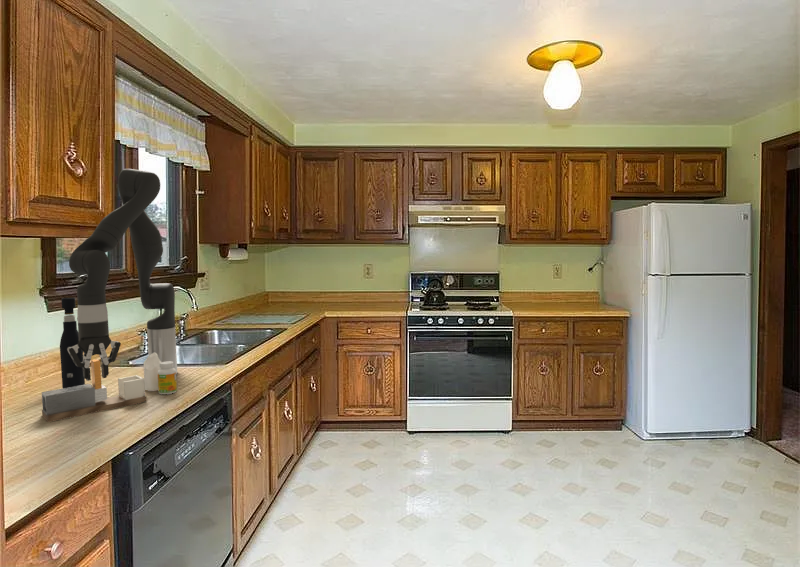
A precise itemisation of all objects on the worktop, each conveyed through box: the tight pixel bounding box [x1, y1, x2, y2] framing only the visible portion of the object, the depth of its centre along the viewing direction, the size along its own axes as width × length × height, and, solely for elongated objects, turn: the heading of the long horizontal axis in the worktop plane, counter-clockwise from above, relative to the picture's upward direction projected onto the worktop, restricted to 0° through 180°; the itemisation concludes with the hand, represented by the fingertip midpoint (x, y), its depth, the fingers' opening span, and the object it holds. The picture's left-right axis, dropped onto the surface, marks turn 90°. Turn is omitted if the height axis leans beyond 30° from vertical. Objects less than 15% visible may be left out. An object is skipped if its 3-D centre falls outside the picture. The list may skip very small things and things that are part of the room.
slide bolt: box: [45, 358, 108, 408], centre depth 149 cm, size 14×4×12 cm, turn 134°
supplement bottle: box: [157, 361, 178, 395], centre depth 168 cm, size 5×5×10 cm
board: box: [41, 394, 147, 423], centre depth 153 cm, size 25×8×2 cm, turn 134°
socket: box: [117, 374, 146, 400], centre depth 159 cm, size 6×6×5 cm
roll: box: [143, 352, 161, 392], centre depth 172 cm, size 6×12×6 cm
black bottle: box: [59, 297, 86, 389], centre depth 175 cm, size 6×6×30 cm
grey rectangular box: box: [41, 383, 96, 416], centre depth 148 cm, size 12×5×5 cm, turn 134°
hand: (96, 378), depth 152 cm, fingers open, 3 cm apart
